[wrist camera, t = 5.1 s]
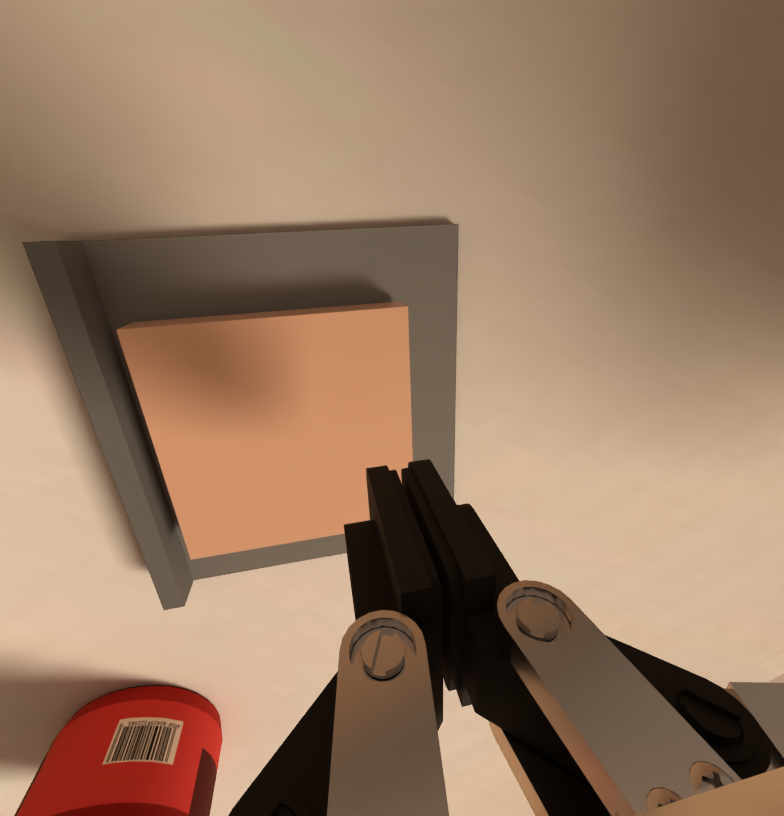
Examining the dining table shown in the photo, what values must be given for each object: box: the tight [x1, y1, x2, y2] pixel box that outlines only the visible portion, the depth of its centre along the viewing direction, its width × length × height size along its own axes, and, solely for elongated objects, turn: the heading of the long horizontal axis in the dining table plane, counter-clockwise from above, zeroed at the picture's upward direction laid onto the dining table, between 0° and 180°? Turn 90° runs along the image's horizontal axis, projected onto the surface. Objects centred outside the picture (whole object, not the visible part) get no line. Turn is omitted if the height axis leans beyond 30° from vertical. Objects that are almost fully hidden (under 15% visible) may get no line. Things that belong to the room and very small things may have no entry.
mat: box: [22, 224, 458, 610], centre depth 15 cm, size 13×14×2 cm
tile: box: [116, 301, 413, 560], centre depth 15 cm, size 2×9×9 cm
